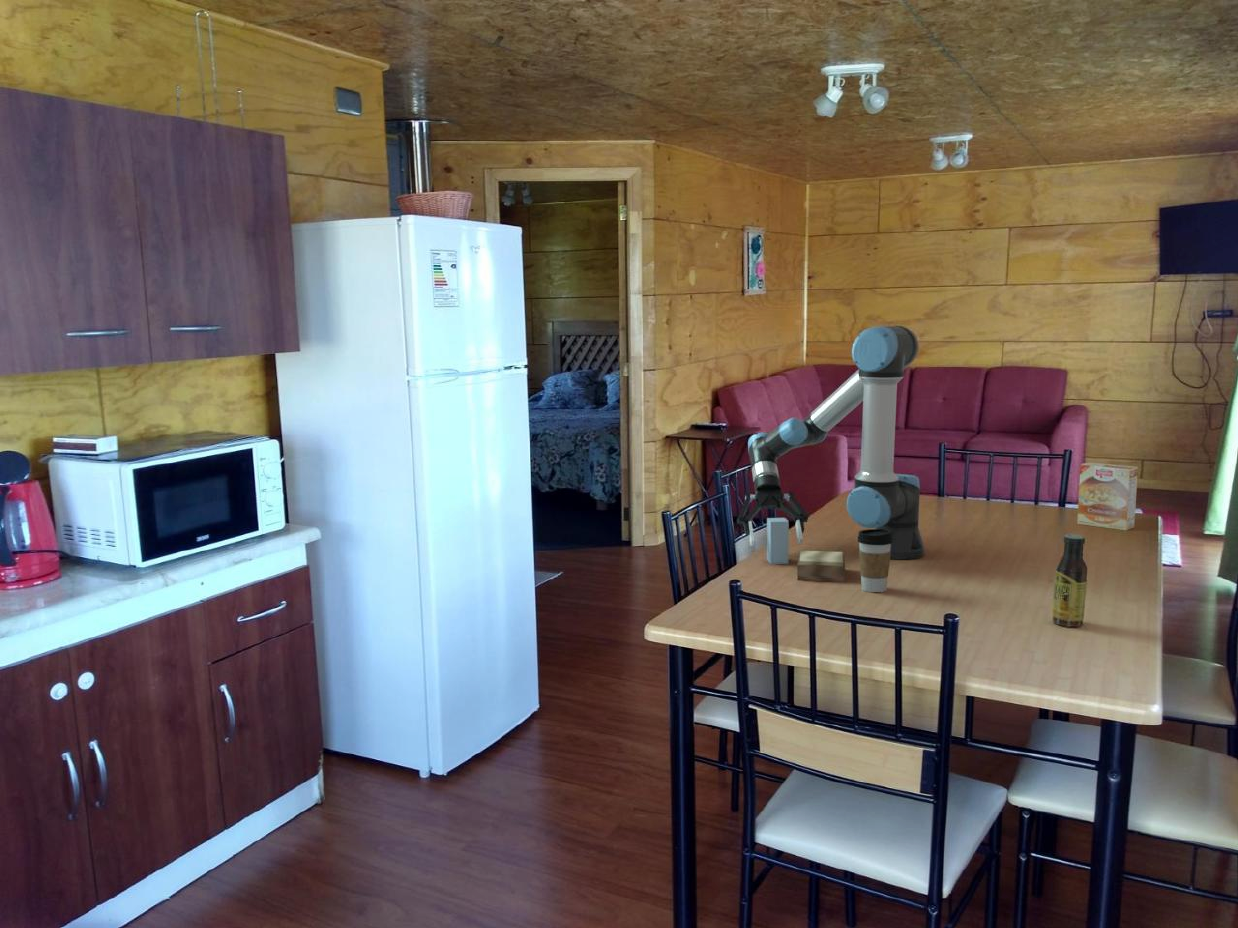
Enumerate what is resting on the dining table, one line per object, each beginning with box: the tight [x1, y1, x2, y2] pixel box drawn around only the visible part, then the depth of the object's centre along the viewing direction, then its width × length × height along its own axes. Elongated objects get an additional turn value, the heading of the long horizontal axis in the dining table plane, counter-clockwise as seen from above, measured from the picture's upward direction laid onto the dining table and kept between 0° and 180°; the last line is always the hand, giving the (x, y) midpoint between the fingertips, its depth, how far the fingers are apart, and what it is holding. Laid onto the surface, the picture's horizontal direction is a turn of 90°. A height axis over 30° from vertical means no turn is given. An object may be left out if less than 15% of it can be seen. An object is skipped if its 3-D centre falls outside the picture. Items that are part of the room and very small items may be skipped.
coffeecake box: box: [1076, 461, 1139, 531], centre depth 295 cm, size 15×7×20 cm, turn 42°
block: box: [766, 517, 790, 565], centre depth 260 cm, size 5×5×12 cm
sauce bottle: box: [1052, 533, 1088, 628], centre depth 202 cm, size 7×6×20 cm
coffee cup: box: [857, 528, 893, 593], centre depth 232 cm, size 8×8×15 cm
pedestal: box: [796, 550, 846, 583], centre depth 247 cm, size 12×12×5 cm
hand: (776, 542), depth 260 cm, fingers open, 13 cm apart
